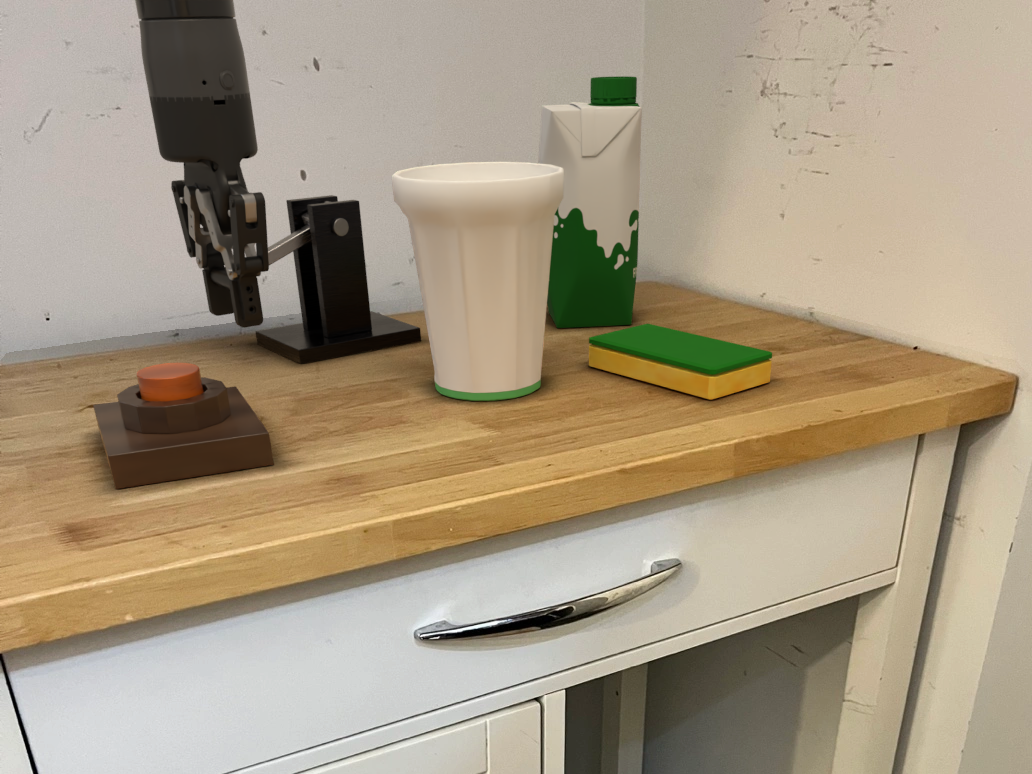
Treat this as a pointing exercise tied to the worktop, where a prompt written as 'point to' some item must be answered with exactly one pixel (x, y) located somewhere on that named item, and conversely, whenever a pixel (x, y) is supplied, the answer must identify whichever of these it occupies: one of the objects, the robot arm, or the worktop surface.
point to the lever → (271, 251)
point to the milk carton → (595, 204)
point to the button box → (181, 435)
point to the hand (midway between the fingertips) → (236, 318)
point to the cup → (483, 270)
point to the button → (169, 382)
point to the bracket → (333, 290)
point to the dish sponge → (680, 360)
